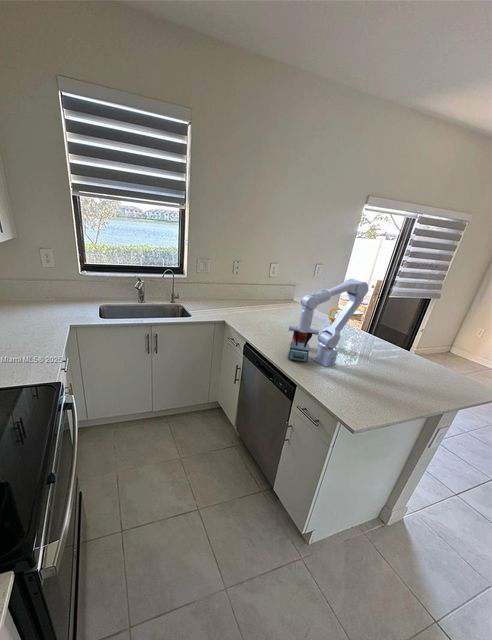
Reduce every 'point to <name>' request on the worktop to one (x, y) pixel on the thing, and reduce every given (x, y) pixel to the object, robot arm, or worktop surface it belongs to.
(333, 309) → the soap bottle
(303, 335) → the canned food
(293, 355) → the detergent tray
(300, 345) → the dispenser
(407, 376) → the worktop surface
